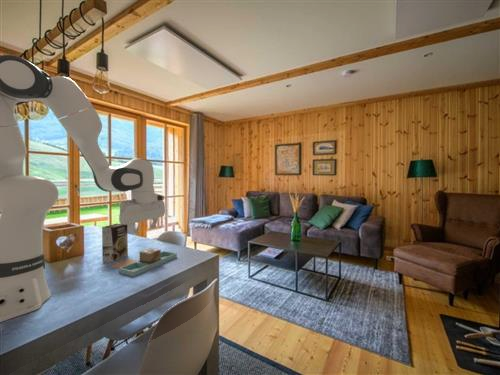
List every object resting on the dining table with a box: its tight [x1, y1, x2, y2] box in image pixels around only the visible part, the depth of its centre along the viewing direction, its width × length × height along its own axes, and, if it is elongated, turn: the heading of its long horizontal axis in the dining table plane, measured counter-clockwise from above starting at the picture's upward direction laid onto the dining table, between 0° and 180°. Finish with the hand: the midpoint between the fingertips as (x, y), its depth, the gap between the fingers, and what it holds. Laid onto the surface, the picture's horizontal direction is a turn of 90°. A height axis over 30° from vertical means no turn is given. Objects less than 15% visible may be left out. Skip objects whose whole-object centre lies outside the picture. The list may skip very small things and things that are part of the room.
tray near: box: [118, 262, 151, 278], centre depth 96 cm, size 8×8×2 cm
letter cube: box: [139, 247, 162, 264], centre depth 103 cm, size 6×6×6 cm
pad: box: [111, 258, 139, 269], centre depth 103 cm, size 9×9×1 cm
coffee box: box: [101, 223, 129, 263], centre depth 110 cm, size 9×6×16 cm
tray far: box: [161, 250, 178, 264], centre depth 110 cm, size 8×8×2 cm
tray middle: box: [137, 258, 165, 270], centre depth 103 cm, size 8×8×2 cm
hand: (144, 230), depth 99 cm, fingers open, 8 cm apart
